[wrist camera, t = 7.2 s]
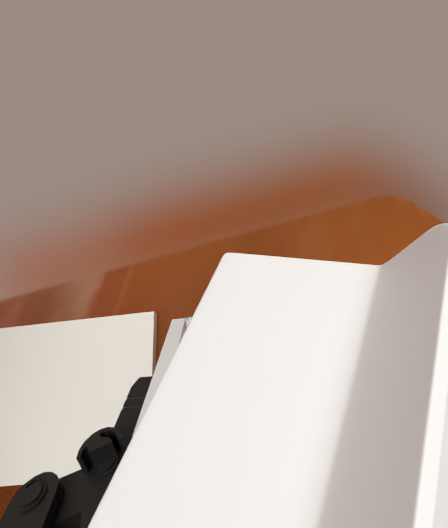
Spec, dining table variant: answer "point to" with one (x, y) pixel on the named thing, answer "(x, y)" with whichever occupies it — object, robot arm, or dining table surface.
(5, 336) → the board
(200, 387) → the milk
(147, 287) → the dining table surface
